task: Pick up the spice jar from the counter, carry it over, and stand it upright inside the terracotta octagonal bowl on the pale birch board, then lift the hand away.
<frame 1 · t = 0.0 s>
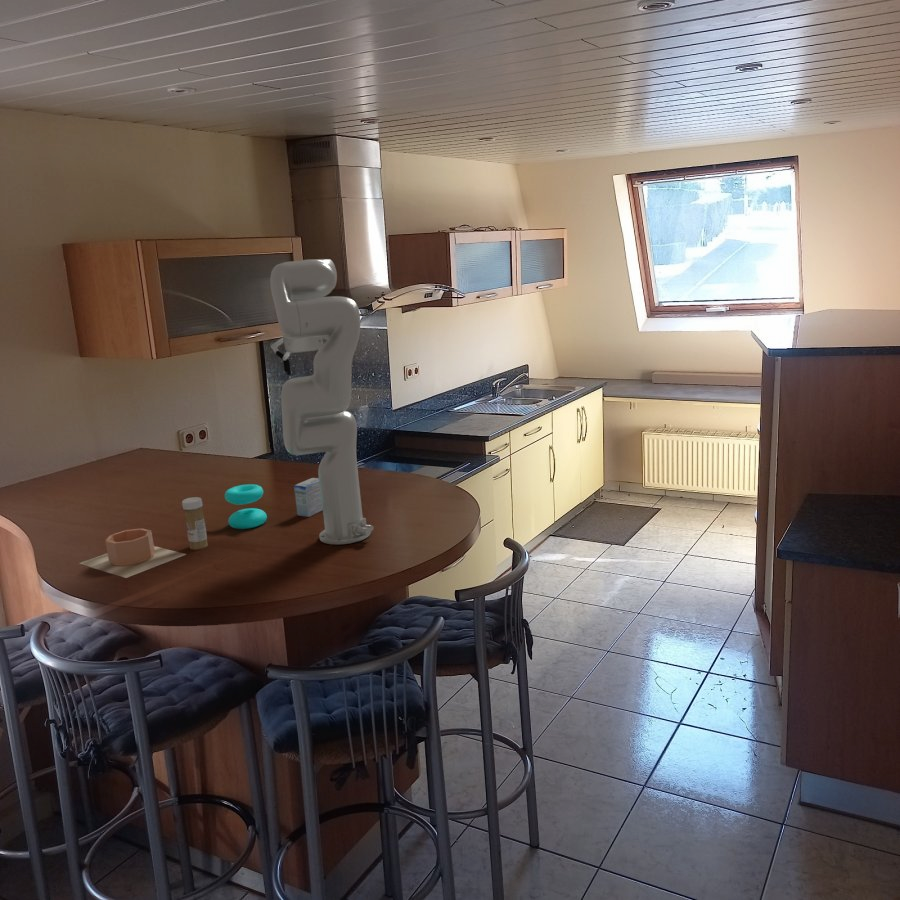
hand: (306, 372, 227), 37 cm above the breakfast bar, tool pointing down, fingers open, 9 cm apart
birch board: (133, 564, 197), on the breakfast bar
spice jar: (200, 552, 202), on the breakfast bar
donuts: (248, 525, 221), on the breakfast bar
medicine box: (312, 512, 227), on the breakfast bar
terracotta octagonal bowl: (132, 558, 197), resting on birch board
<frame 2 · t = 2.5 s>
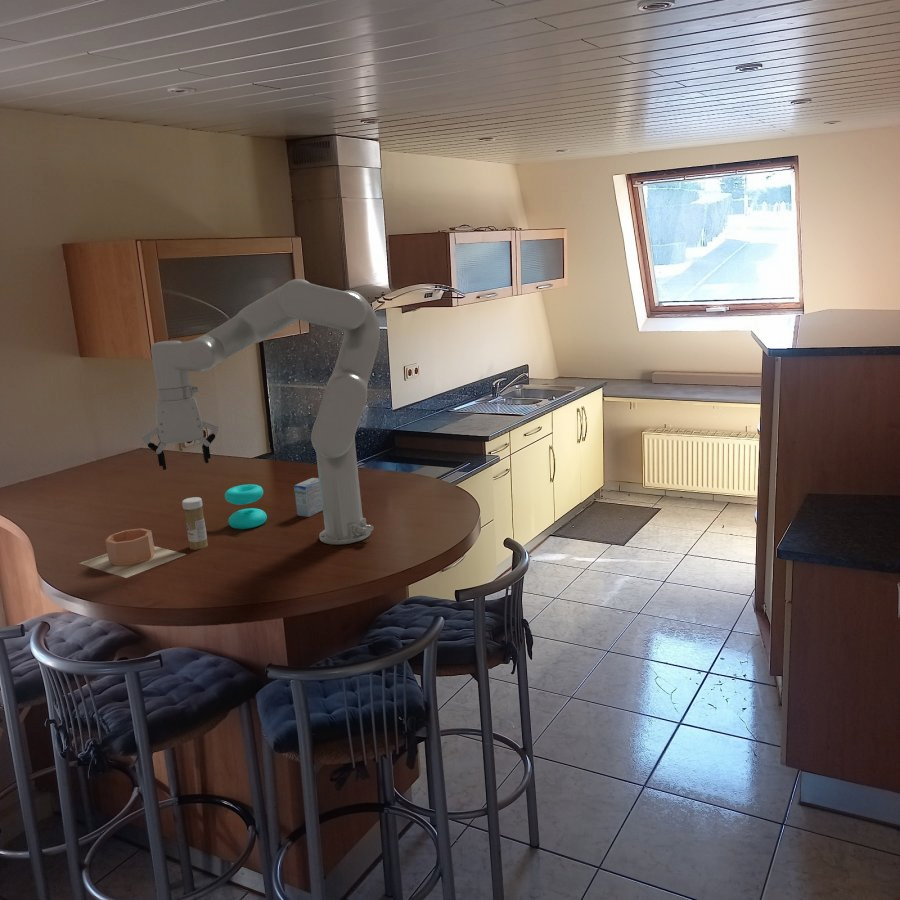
hand: (185, 465, 197), 22 cm above the breakfast bar, tool pointing down, fingers open, 9 cm apart
nothing on the breakfast bar moved.
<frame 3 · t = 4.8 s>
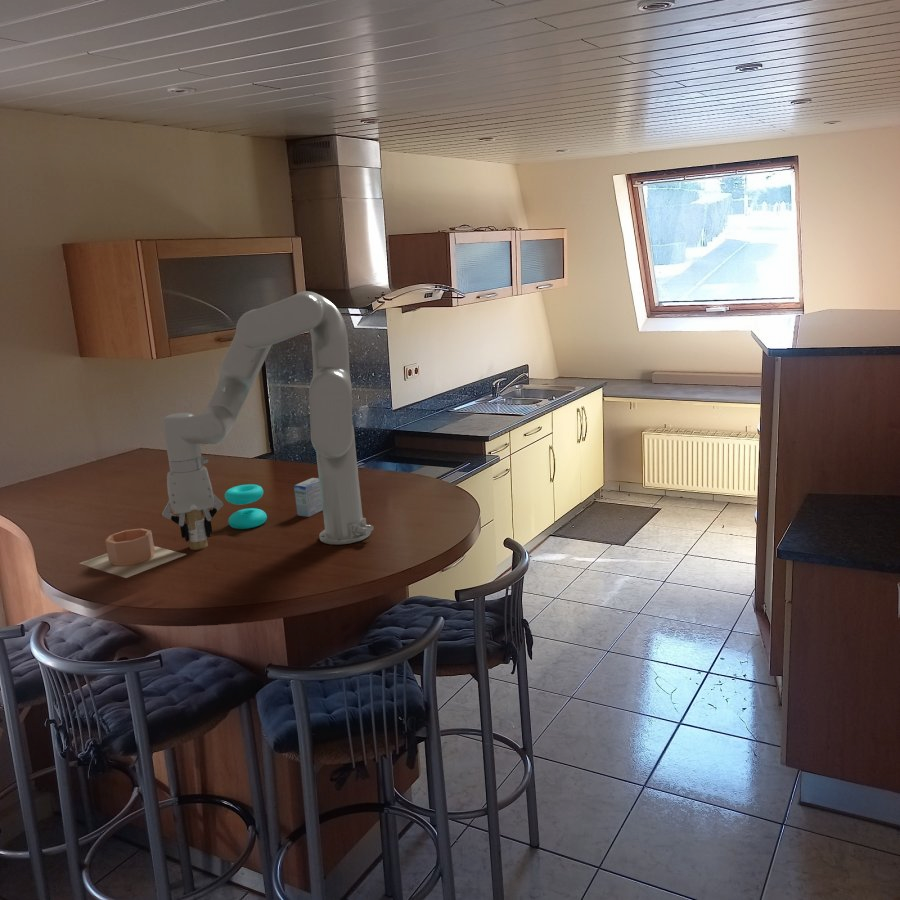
hand: (197, 537, 201), 4 cm above the breakfast bar, tool pointing down, fingers closed on spice jar, 4 cm apart
spice jar: (200, 552, 202), on the breakfast bar, touching gripper
everything else where it was.
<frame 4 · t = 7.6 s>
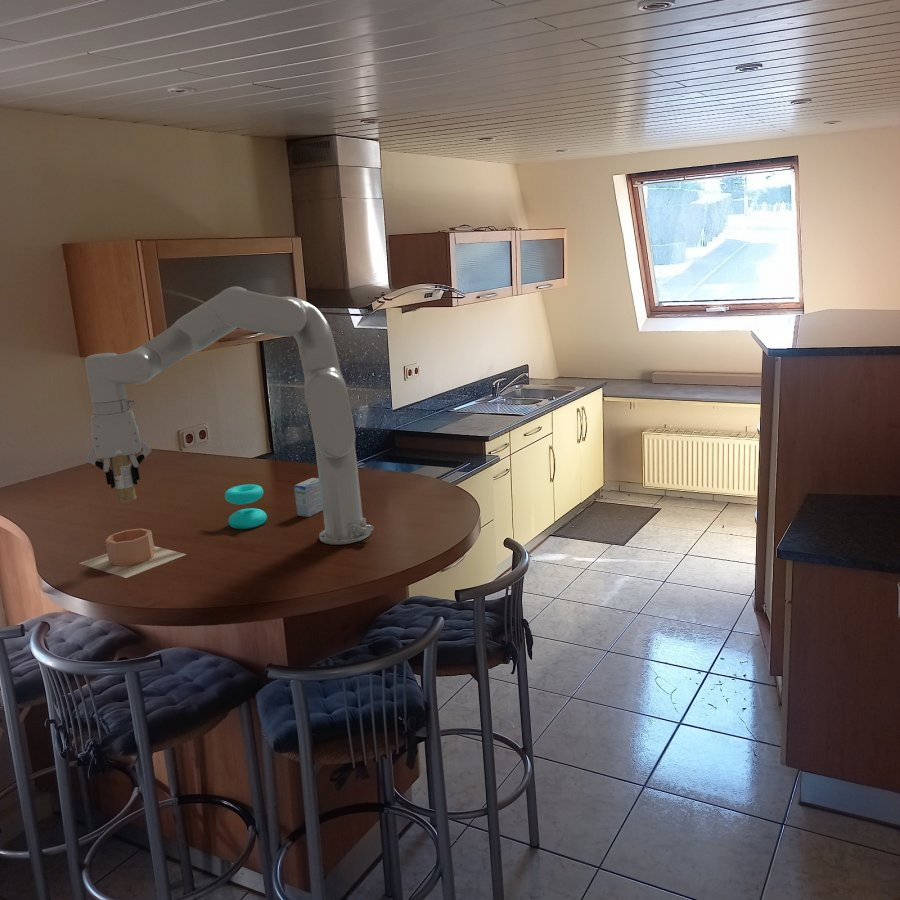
hand: (124, 484, 193), 20 cm above the breakfast bar, tool pointing down, fingers closed on spice jar, 4 cm apart
spice jar: (127, 500, 194), point 16 cm above the breakfast bar, touching gripper
everything else where it was.
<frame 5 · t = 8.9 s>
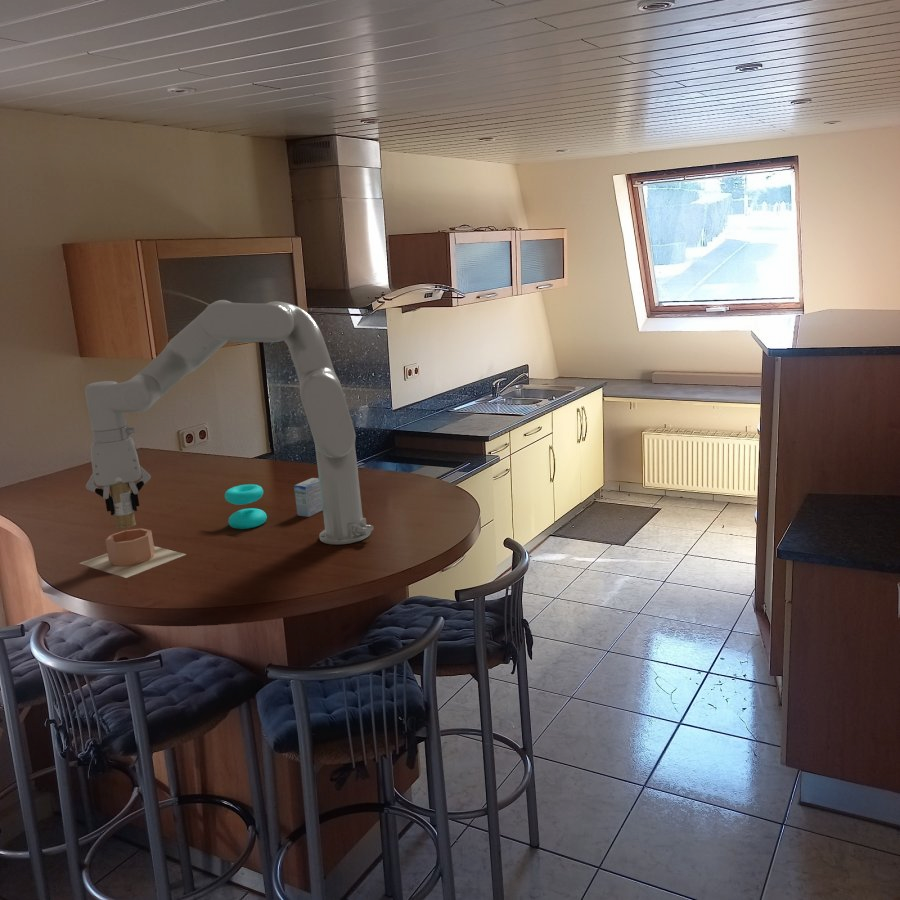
hand: (123, 510, 194), 13 cm above the breakfast bar, tool pointing down, fingers closed on spice jar, 4 cm apart
spice jar: (126, 527, 195), point 9 cm above the breakfast bar, touching gripper
everything else where it was.
when the fingers open (7 cm above the breakfast bar, at t = 10.3 s): spice jar drops 1 cm, resting on terracotta octagonal bowl.
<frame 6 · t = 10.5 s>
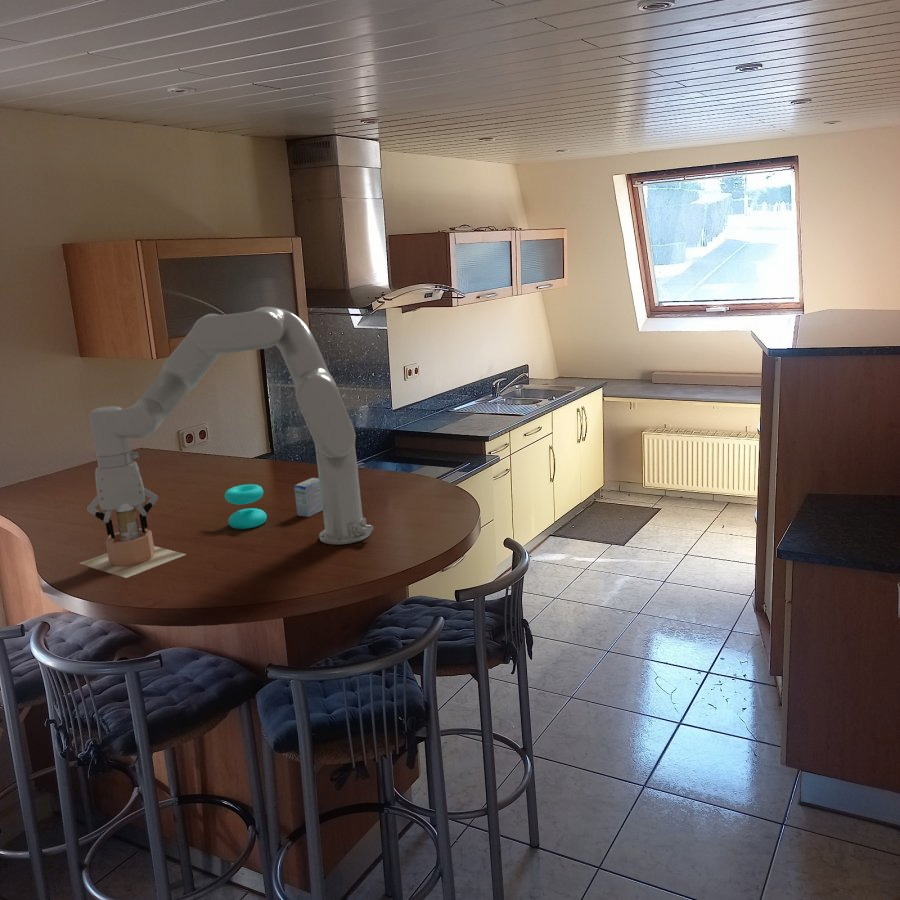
hand: (128, 533, 195), 8 cm above the breakfast bar, tool pointing down, fingers open, 6 cm apart
spice jar: (133, 556, 197), point 2 cm above the breakfast bar, touching terracotta octagonal bowl
everything else where it was.
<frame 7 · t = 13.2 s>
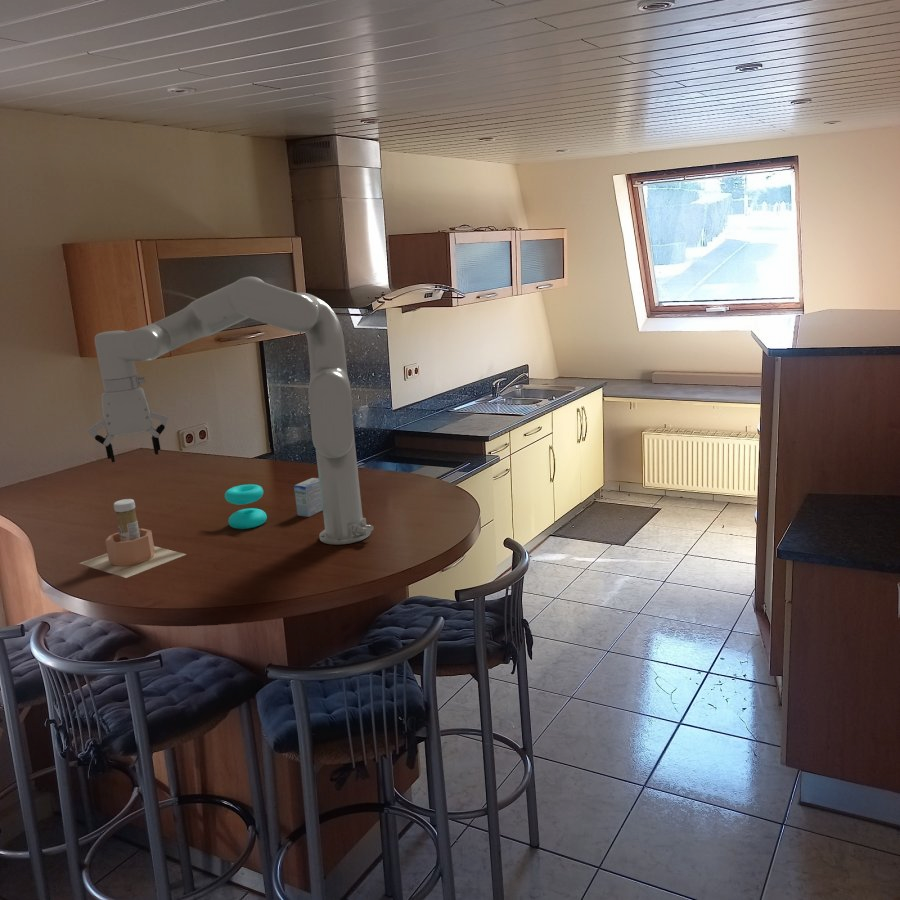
hand: (135, 457, 194), 25 cm above the breakfast bar, tool pointing down, fingers open, 9 cm apart
nothing on the breakfast bar moved.
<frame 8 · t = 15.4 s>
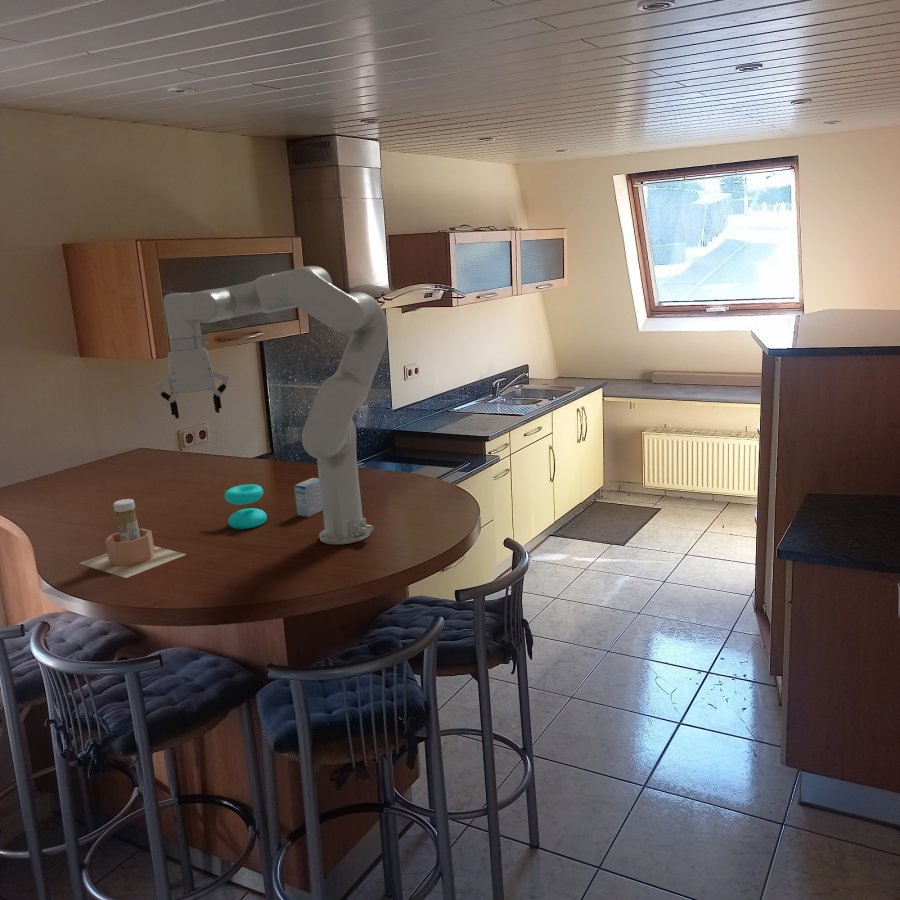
hand: (197, 414, 203), 32 cm above the breakfast bar, tool pointing down, fingers open, 9 cm apart
nothing on the breakfast bar moved.
at the end: spice jar 0.4 cm off-centre on the terracotta octagonal bowl, point 0.6 cm above the terracotta octagonal bowl's base; spice jar tilted 0°; the gripper is holding nothing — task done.
